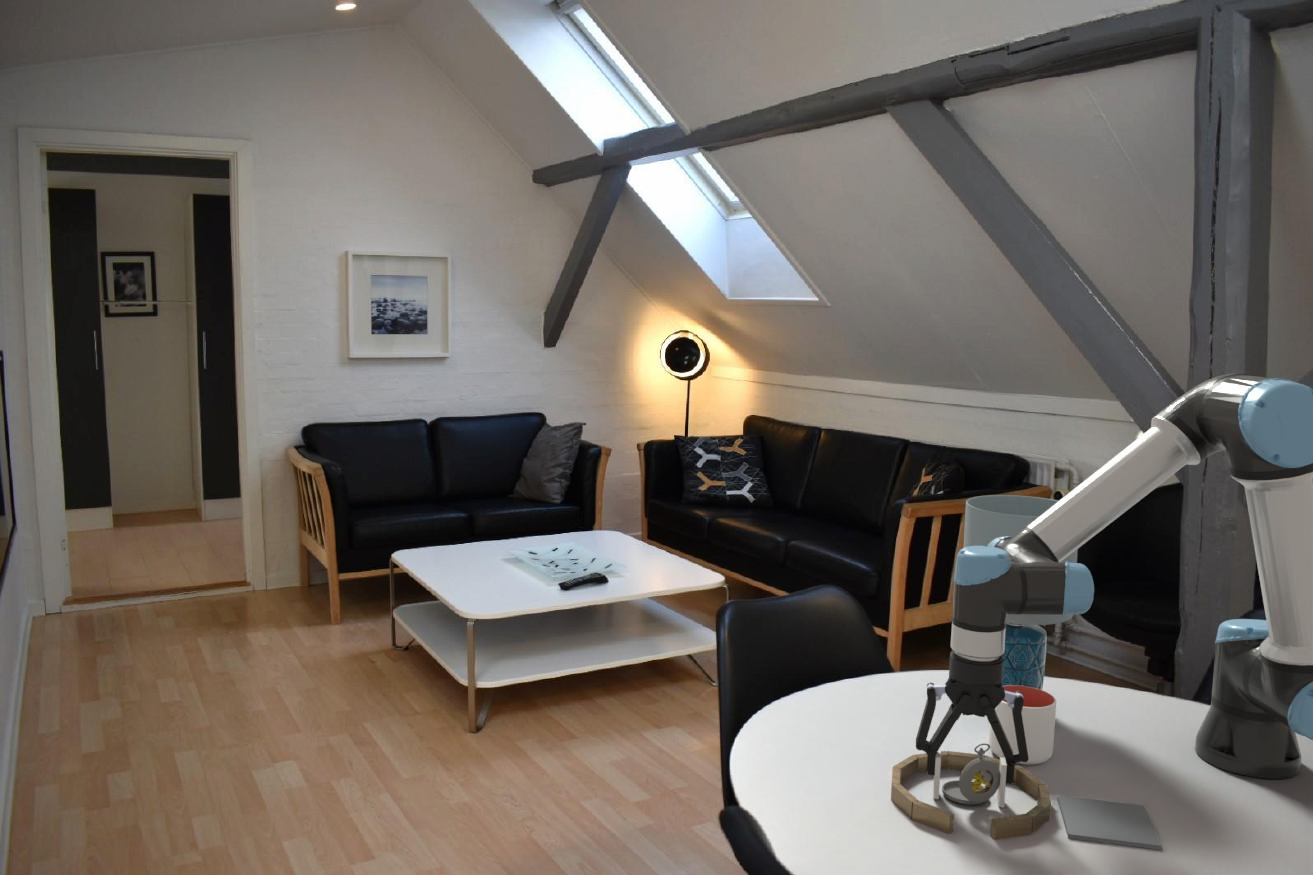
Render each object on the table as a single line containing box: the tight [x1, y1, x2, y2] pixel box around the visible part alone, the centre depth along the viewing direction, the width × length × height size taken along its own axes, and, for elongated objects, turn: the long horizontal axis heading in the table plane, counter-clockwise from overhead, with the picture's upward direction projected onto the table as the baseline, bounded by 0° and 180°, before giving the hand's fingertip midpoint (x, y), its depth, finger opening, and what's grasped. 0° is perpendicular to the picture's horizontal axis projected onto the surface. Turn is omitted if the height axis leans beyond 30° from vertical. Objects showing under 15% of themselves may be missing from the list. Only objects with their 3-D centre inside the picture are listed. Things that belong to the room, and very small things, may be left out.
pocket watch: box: [941, 743, 1000, 805], centre depth 158 cm, size 8×8×10 cm
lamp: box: [963, 494, 1079, 690], centre depth 191 cm, size 19×19×38 cm
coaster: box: [1056, 794, 1163, 851], centre depth 152 cm, size 12×12×1 cm
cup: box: [988, 685, 1057, 766], centre depth 174 cm, size 10×10×10 cm
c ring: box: [890, 750, 1052, 840], centre depth 158 cm, size 22×22×2 cm
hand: (968, 798), depth 158 cm, fingers open, 9 cm apart
